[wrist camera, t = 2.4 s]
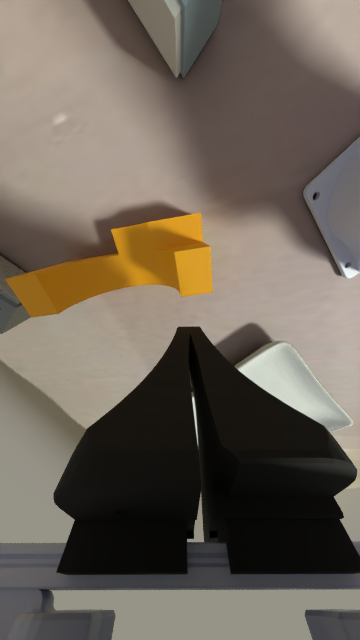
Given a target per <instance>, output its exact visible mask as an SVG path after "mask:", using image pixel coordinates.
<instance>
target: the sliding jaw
mask: <svg viewBox="0 0 360 640" xmlns="http://www.w3.org/2000/svg"><path fill="white" fill-rule="evenodd" d="M128 1H129V3H130V5H131V6H132V8H133V9H134V11H135V13H136V14H137V16H138V17H139V19H140V21H141V22H142V24H143V26H144V27H145V29H146V30H147V32H148V34H149V35H150V37H151V38H152V40H153V42H154V43H155V45H156V46H157V48H158V50H159V51H160V53H161V54H162V56H163V58H164V59H165V61H166V63H167V64H168V66H169V67H170V69H171V71H172V72H173V74H174V75H175V77H176V78H177V77H178V75H179V73H180V74H181V75H182V77H183V79H184V77H185V76H186V74H187V73H188V71H189V69H190V68H191V66H192V65H193V63H194V61H195V60H196V58H197V57H198V55H199V54H200V52H201V50H202V49H203V47H204V46H205V44H206V42H207V41H208V39H209V38H210V36H211V34H212V33H213V31H214V30H215V28H216V26H217V25H218V22H219V17H220V12H221V6H222V1H223V0H128Z"/></svg>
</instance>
